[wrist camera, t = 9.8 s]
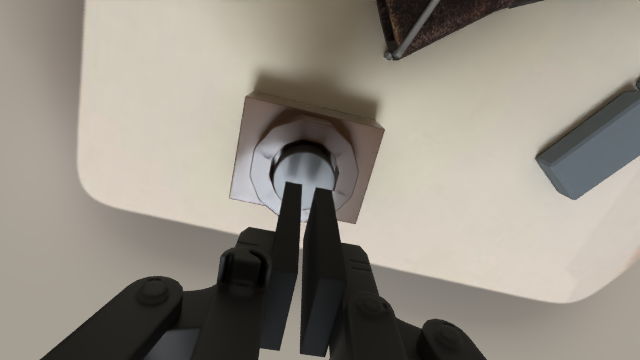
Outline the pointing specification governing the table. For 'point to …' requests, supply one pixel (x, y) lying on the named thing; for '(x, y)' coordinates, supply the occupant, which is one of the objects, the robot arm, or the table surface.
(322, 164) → the release button
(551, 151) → the bracket
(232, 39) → the table surface
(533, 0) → the book
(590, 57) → the table surface
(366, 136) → the block
